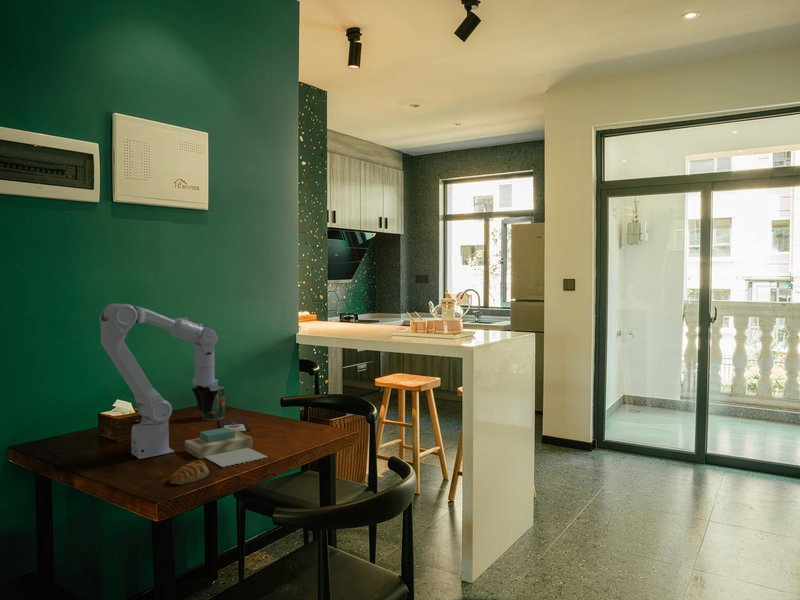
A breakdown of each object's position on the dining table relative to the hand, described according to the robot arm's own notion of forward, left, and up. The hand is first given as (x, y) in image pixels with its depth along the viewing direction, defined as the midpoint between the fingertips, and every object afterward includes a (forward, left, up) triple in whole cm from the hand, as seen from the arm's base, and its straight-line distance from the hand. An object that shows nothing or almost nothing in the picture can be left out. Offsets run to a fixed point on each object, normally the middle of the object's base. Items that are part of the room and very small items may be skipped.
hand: (205, 411), depth 171 cm
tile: (0, -9, -5) cm, 10 cm away
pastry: (-16, -29, -10) cm, 35 cm away
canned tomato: (+15, +30, -10) cm, 35 cm away
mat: (0, -21, -9) cm, 23 cm away
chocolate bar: (+15, +13, -10) cm, 22 cm away
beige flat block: (0, -10, -9) cm, 14 cm away
